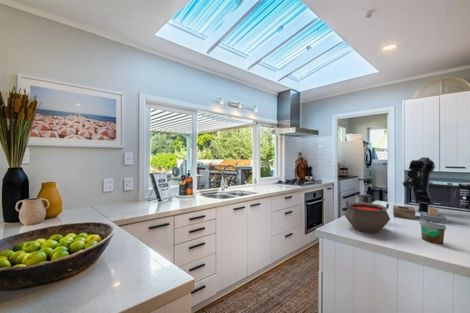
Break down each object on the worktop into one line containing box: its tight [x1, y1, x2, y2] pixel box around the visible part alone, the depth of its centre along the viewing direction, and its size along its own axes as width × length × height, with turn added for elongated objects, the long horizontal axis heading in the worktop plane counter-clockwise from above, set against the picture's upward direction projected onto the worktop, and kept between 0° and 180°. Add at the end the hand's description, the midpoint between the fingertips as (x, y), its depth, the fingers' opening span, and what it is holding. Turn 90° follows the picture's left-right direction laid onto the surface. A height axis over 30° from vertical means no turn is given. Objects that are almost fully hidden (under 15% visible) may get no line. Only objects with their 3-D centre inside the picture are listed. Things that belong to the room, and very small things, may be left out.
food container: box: [418, 218, 447, 245], centre depth 117 cm, size 12×6×10 cm, turn 5°
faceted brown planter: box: [344, 200, 391, 234], centre depth 135 cm, size 24×24×16 cm
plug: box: [428, 206, 439, 216], centre depth 153 cm, size 4×4×7 cm
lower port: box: [419, 212, 448, 225], centre depth 153 cm, size 12×12×4 cm
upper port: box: [392, 204, 416, 221], centre depth 162 cm, size 12×12×6 cm
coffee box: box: [354, 193, 373, 204], centre depth 157 cm, size 9×6×16 cm
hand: (416, 198), depth 164 cm, fingers open, 9 cm apart
